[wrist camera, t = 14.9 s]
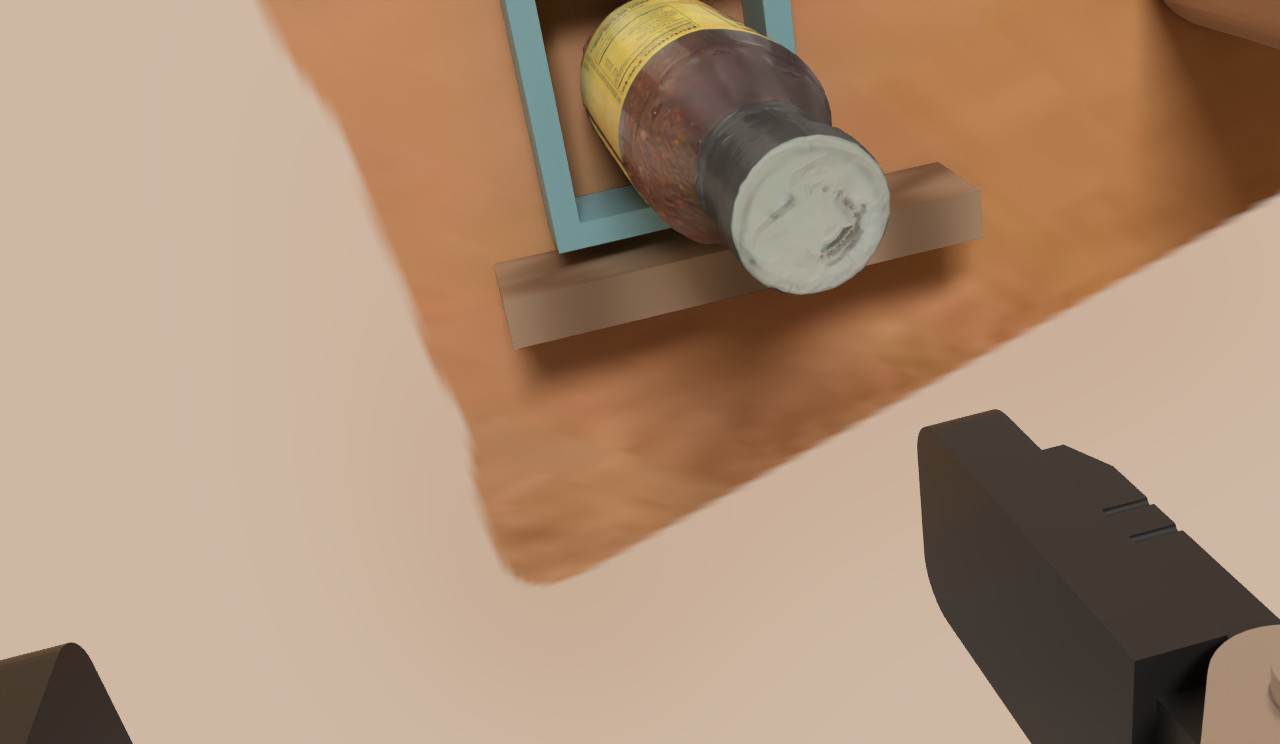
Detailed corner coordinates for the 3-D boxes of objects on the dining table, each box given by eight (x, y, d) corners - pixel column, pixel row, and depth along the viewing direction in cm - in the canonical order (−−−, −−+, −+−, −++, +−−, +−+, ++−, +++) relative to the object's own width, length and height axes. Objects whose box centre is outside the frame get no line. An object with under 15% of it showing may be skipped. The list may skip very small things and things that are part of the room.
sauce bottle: (747, 119, 48) (964, 312, 30) (599, 170, 47) (731, 395, 30) (706, -46, 44) (921, 62, 27) (548, 8, 44) (661, 152, 27)
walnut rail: (937, 162, 50) (980, 190, 46) (940, 206, 51) (982, 237, 47) (493, 264, 48) (503, 302, 45) (504, 309, 49) (514, 349, 46)
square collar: (754, -111, 44) (779, -105, 41) (787, 173, 49) (810, 195, 46) (487, -57, 43) (495, -46, 40) (549, 228, 48) (559, 253, 45)
